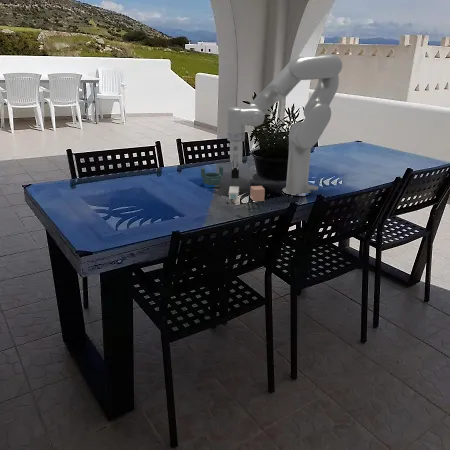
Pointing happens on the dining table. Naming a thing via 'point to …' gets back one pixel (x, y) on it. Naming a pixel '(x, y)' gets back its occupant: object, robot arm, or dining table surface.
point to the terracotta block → (257, 193)
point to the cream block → (233, 192)
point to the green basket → (212, 176)
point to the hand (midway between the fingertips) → (235, 177)
